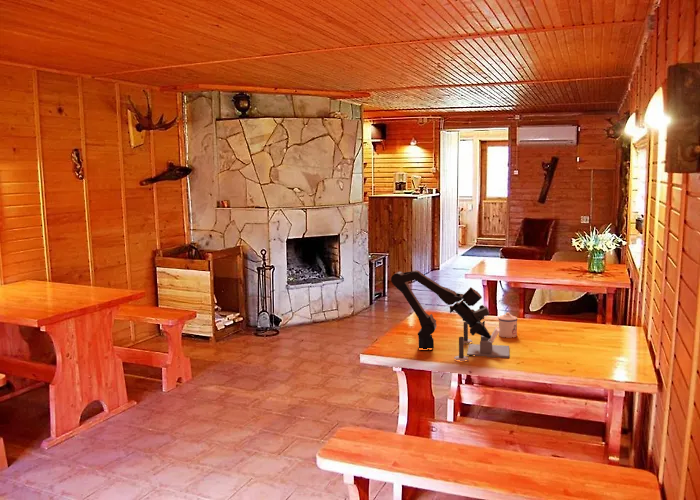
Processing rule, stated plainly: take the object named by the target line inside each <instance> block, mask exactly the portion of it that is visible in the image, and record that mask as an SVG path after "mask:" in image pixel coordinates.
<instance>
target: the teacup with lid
mask: <svg viewBox="0 0 700 500" xmlns="http://www.w3.org/2000/svg"><path fill="white" fill-rule="evenodd" d="M498 328H499V333H498V336H500V337H501V338H505V337H506V338H512V337H513V338H515V337H517V336H518V317H517V316H514V315H513V314H511V313H510V312H509V311H507V312H506V313H505V314H503V315H500V316H499V317H498Z"/></svg>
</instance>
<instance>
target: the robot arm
mask: <svg viewBox="0 0 700 500" xmlns="http://www.w3.org/2000/svg"><path fill="white" fill-rule="evenodd" d="M411 281H416V282H418V283H419V284H420V285H422V286H423V287H425V288H427V289H428V290H430V291H431V292H433V293H435V294H436V296H438V297H439V299H440V300H441V301H442V302H443V303H445V305H449V313H450V314H451V313H453V312H455V313H456V314H457V315H458V316H459V317H460V318H461V319H462V321H463V322H466V323H467V324H468V328H470V329H469V333H470V335H471V336H475V334H477V335H479V336H481V335H482V336H484V337H487V338H489V339H490V338H491V335H492V334H490V332H489V331H488V329H487V327H486V322H485V317H487V316H489V315H490V311H489V308H488V307H487V305H486V306H485V305H483V304H481V305H479V309H476V310H475V309H471V307H474V306H475V305H476V304H477V303H478V302H479V301H481V300H482V298H483V297H482V295H481V294H480V293H479V292H478V291H477V290H475V289H474V288H473V287H471V286H470V287H469V288H468V290H466V291H465V292H464V293H459V292H458V293H457V292H456V291H455V290H453V289H450V288H448V287H445V286H442V285H440V284H439V283H437V282H436V281H434V280H433V279H431V278H430V277H428V276H426V275H425V274H424V273H422V272H421V271H420V270H417V269H416V270H413V271H406V272H403V271H396V272H395V273H393V274H392V275H391V278H390V282H391V283H392V285H393V286H394V287H395V288H396V289H397V290H398V291H399V292H401V293H402V295H403V296H404V298H405V299H406V301H407V303H408V304H409V306H410V307H411V309H412V310H413V312H414V314H415V315H416V317H417V318H418V321H419V326H420V329H419V331H418V332H417V336H418V346H419V348H423V349H427V348H433V349H434V348H435V347H434V345H435V344H434V341H435V339H434V338H433V335H432V334H433V333H434V332H435V331H436V329H437V320H436V319H435V318H434V316H433V313H430V314H428V312H426V310H425V308H423V306H422V305H421V302H420V301H419V299H418V298H417V296H416V295H415V293H414V292H413V291H412V288H411V287H410V284H409V282H411ZM482 320H483V321H482Z"/></svg>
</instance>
